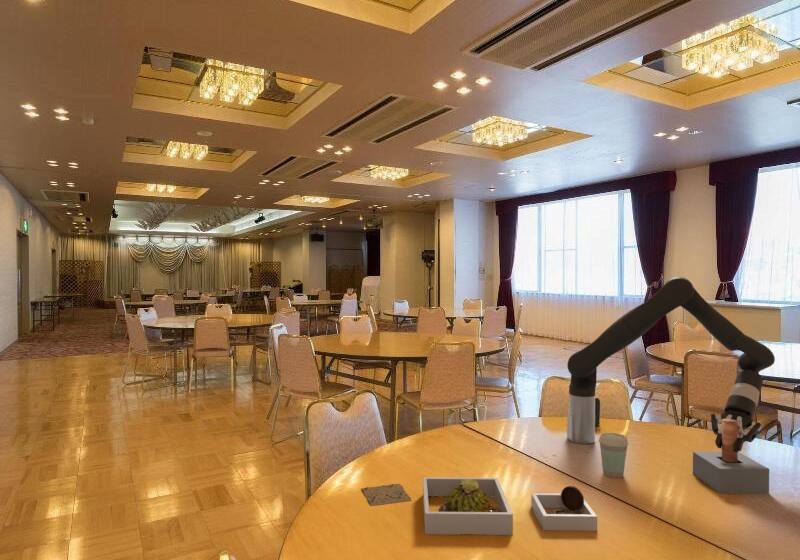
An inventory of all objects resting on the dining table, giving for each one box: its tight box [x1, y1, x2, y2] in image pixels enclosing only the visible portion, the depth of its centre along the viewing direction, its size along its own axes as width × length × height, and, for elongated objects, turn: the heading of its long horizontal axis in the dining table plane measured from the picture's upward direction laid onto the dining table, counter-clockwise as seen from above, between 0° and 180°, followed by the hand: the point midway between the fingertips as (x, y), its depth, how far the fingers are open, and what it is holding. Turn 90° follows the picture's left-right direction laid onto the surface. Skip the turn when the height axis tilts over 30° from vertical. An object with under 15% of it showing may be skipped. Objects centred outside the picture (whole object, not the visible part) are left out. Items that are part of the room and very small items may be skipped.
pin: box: [721, 419, 738, 463], centre depth 156 cm, size 4×4×14 cm
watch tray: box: [530, 492, 598, 532], centre depth 134 cm, size 13×13×4 cm
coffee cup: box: [598, 432, 629, 479], centre depth 163 cm, size 8×9×12 cm
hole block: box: [692, 451, 770, 494], centre depth 156 cm, size 14×14×7 cm
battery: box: [595, 396, 601, 426], centre depth 216 cm, size 7×4×11 cm, turn 106°
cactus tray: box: [422, 476, 514, 536], centre depth 137 cm, size 21×22×5 cm
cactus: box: [438, 477, 501, 512], centre depth 135 cm, size 17×16×10 cm
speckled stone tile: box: [361, 483, 412, 507], centre depth 148 cm, size 12×12×1 cm
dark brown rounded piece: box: [551, 485, 585, 514], centre depth 134 cm, size 8×8×7 cm
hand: (727, 448), depth 155 cm, fingers closed on pin, 4 cm apart
